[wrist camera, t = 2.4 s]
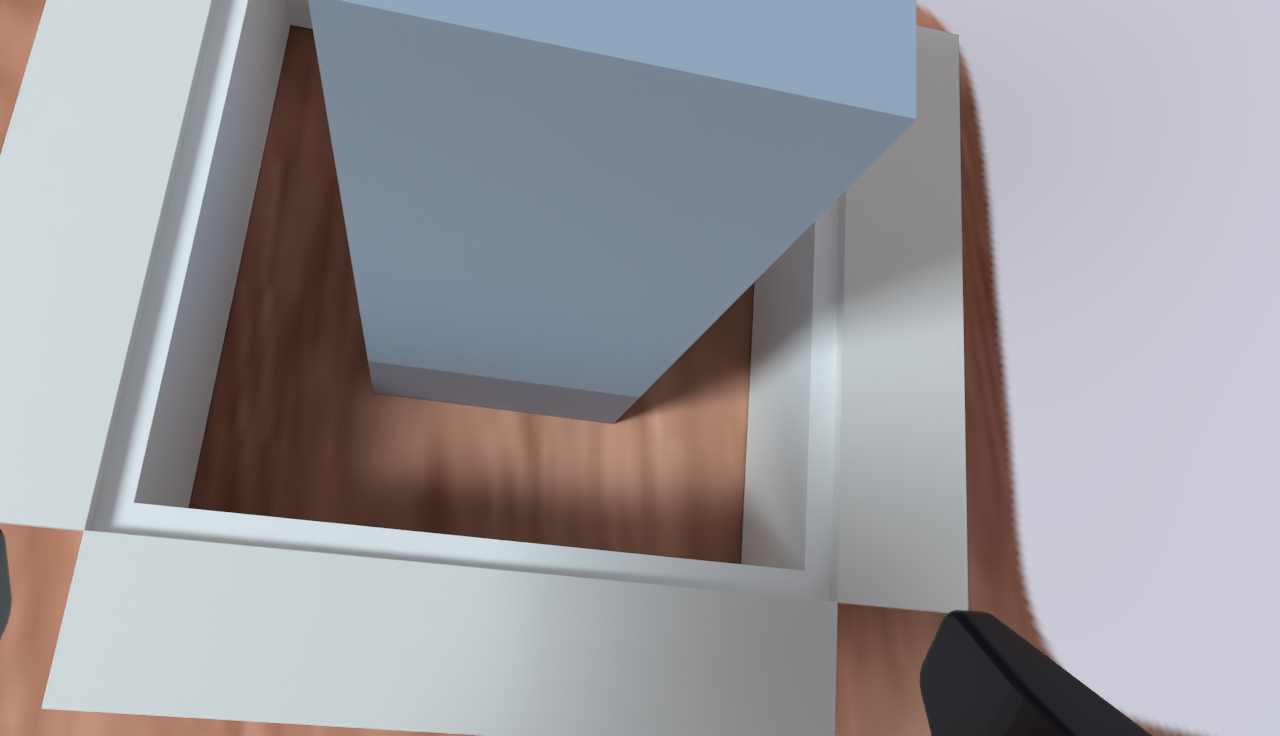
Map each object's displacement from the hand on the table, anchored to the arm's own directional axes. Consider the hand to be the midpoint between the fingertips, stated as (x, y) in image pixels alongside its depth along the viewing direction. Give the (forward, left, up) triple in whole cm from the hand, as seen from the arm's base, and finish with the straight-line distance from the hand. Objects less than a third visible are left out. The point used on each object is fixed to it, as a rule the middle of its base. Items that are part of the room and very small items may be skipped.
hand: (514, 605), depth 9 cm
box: (+5, -4, -10) cm, 12 cm away
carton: (+4, -3, -10) cm, 11 cm away
